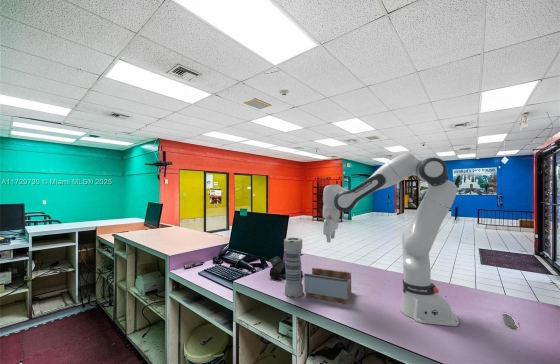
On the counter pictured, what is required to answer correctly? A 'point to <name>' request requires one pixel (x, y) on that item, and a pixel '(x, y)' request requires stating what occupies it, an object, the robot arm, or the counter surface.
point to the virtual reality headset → (279, 269)
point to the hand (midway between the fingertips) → (330, 240)
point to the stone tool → (509, 321)
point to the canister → (293, 267)
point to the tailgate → (325, 285)
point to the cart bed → (336, 275)
